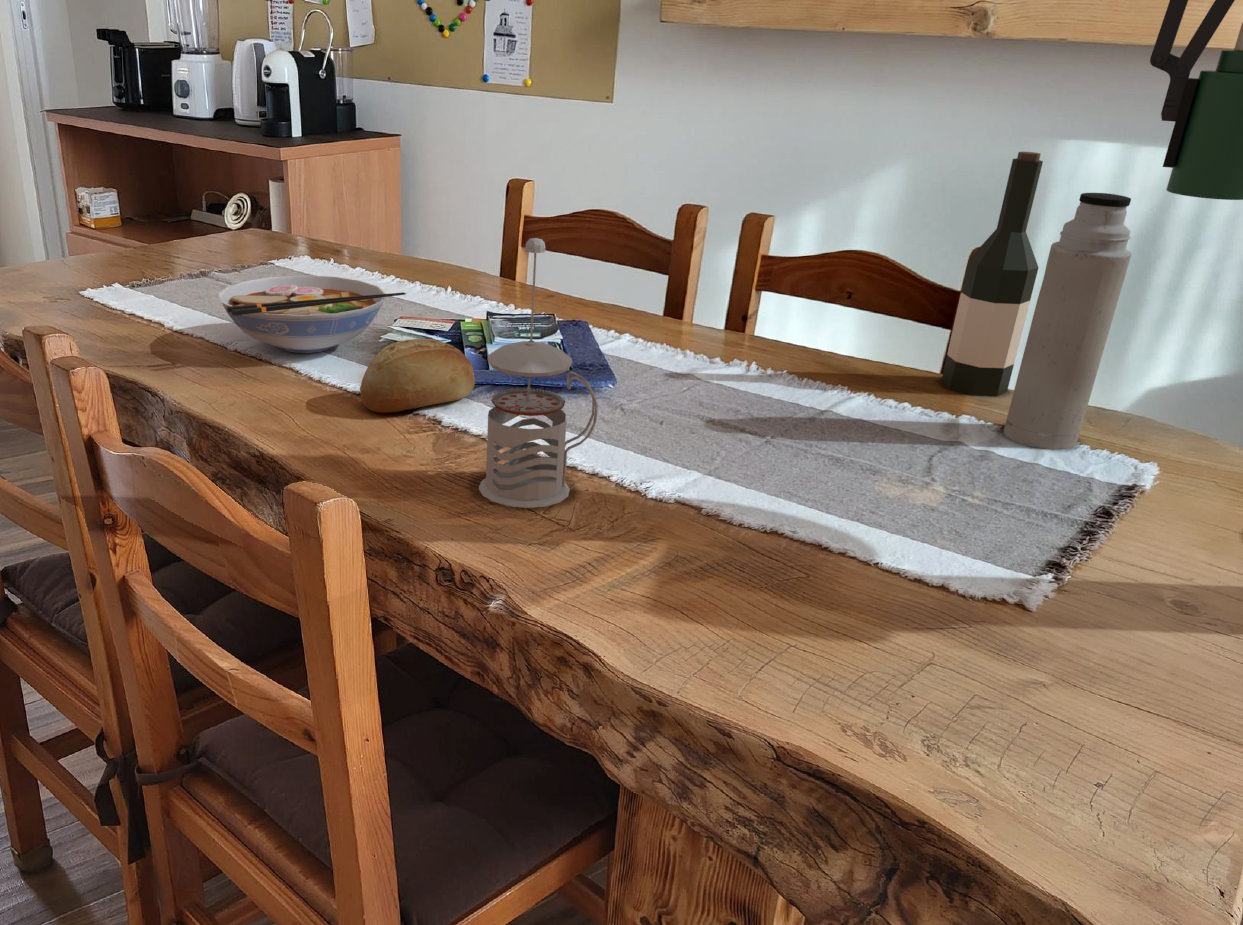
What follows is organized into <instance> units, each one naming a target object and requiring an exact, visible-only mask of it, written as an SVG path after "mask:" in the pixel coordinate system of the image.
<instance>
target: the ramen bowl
mask: <svg viewBox="0 0 1243 925" xmlns="http://www.w3.org/2000/svg"><path fill="white" fill-rule="evenodd" d="M406 295H407V292H393V293H391V292H390V293H387V292H385V290H383V289H382V288H381V287H380V286H379V285H377V284H374V283H373V284H372V283H370V282H367V281H363V280H360V279H353V278H345V277H339V276H328V275H306V274H305V275H304V274H303V275H300V274H299V275H282V276H268V277H262V278H254V279H247V280H244V281H243V280H242V281H241V282H238V283H237V282H236V283H234V284H230V285H227V286H225V287H224V288H223V289H221V291H220V292H218V293H217V296H218V299H219V301H220V303H221V305H222V306H223V308H224V310H225V311H226V313H227V315H228V316H229V317H230V319H231V320H232V321H233V323H234V324H235V325H236V326H237V327H238V328H239V329H240V331H242V332H243V333H244V334H246V335H248V336H249V337H251V338H252V339H255V340H257V341H259V342H261V343H264V344H267V345H270V346H273V347H277V348H278V349H280V350H283V351H285V352H289V353H295V354H313V353H321V352H325V351H328V350H330V349H332V348H333V347H335V346H337V345H340V344H343V343H346V342H348V341H350V340H352V339H355V338H356V337H358V336H359V335H361V334H362V333H365V331H366V330H367V329H368V328H369V326H370V325H371V324H372V323H373V320H374V319H375V318H376V316H377V314H378V313H379V312H380V310H381V307H382V306H383V303H384V301H385V299H386V298H390V297H396V296H406Z"/></svg>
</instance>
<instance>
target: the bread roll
mask: <svg viewBox="0 0 1243 925" xmlns="http://www.w3.org/2000/svg"><path fill="white" fill-rule="evenodd" d="M475 385H476V377H475V374H474V367H473V363H472V361H470V359H469V358H468V357H467V355H465V354H464V353H463V352H462V350H460V349H459V348H457V347H455V346H454V345H452V344H448V343H447V342H443V341H440V340H437V339H432V338H412V339H411V338H410V339H404V340H399V341H395V342H393V343H390V344H388V345H386V346H385V347H383V348H382V349H381V350H380V351H378V352H377V354H376V355H375V357H374V358H372V360H371V361H370V363H369V364H368V366H367V368H366V370H365V372H364V374H363V377H362V379H361V383H360V387H359V391H360V394H359V395H360V399H361V402H362V403H363V406H364V407H365V408H367V409H368V410H370V411H372V412H374V413H378V414H379V413H380V414H382V413H384V414H385V413H397V412H403V411H407V410H412V409H417V408H422V407H427V406H431V405H438V404H443V403H449V402H453V401H458V400H461V399H464V398H466V397H467V396H468V395H470V394H471V393H472V391H473V389H474V388H475Z"/></svg>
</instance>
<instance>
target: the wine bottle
mask: <svg viewBox="0 0 1243 925" xmlns="http://www.w3.org/2000/svg"><path fill="white" fill-rule="evenodd" d="M1040 158H1041V153H1039V152H1034V151H1018V153H1017V157H1016V158H1012V160H1011V165H1010V169H1009V173H1008V179H1007V183H1006V187H1005V191H1004V195H1003V200H1002V204H1001V208H1000V214H999V216H998V217H999V218H998V220H997V226H996V228H995V229H994V231H993V232H992V233H991V234H990V235H989V237H988V238H987V239H985V241H984V242H983V243H982V244H981V245H980V246H979V247H978V248H977V250H975V252H974V253H973V254H972V255H971V256H970V257H969V259H968V260H967V264H966V269H965V274H964V278H963V281H962V286H961V292H960V294H959V300H958V304H957V309H956V312H955V317H954V323H953V327H952V331H951V336H950V340H949V344H948V349H947V353H946V357H945V363H944V367H943V371H942V374H941V375H942V376H941V380H940V383H941V384H942V385H943V386H945V387H946V389H948V390H950V391H954V392H957V393H960V394H965V395H969V396H971V397H972V396H973V397H995V398H996V397H1000V396H1001V395H1004V394H1006V393H1007V392H1008V390H1009V386H1010V382H1011V378H1012V375H1013V370H1014V366H1015V363H1016V359H1017V354H1018V351H1019V347H1020V342H1021V338H1022V334H1023V330H1024V327H1025V322H1026V320H1027V316H1028V310H1029V307H1030V303H1031V299H1032V295H1033V291H1034V287H1035V284H1036V280H1037V276H1038V271H1039V265H1038V262H1037V259H1036V256H1035V253H1034V251H1033V248H1032V245H1031V243H1030V239H1029V237H1028V234H1027V228H1028V224H1029V221H1030V216H1031V213H1032V208H1033V204H1034V199H1035V195H1036V192H1037V188H1038V184H1039V179H1040V176H1041V175H1040V174H1041V170H1042V168H1043V163H1044V161H1043V160H1040Z"/></svg>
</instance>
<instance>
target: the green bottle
mask: <svg viewBox="0 0 1243 925" xmlns="http://www.w3.org/2000/svg"><path fill="white" fill-rule="evenodd" d="M1198 79H1199V80H1198V83H1197V87H1196V90H1195V94H1194V97H1193V101H1192V104H1191V107H1190V111H1189V114H1188V118H1187V121H1186V125H1185V128H1184V132H1183V135H1182V138H1181V142H1180V145H1179V149H1178V152H1177V156H1176V159H1175V163H1174V166H1173V168H1171V172H1170V175H1169V179H1168V181H1167V182H1168V183H1167V185H1166V191H1167V192H1168V193H1170V194H1174V195H1180V196H1186V197H1192V198H1198V199H1199V198H1200V199H1210V200H1221V201H1222V200H1224V201H1225V200H1226V201H1243V21H1242V23H1241V25H1240V28H1239V32H1238V35H1237V38H1236V42H1235V45H1234V48H1233V49H1232V50H1231V49H1222V50H1221V51H1220V55H1219V58H1218V61H1217V65H1216V68H1215V70H1207V69H1206V70H1205V69H1204V70H1200V72H1199V75H1198Z"/></svg>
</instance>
